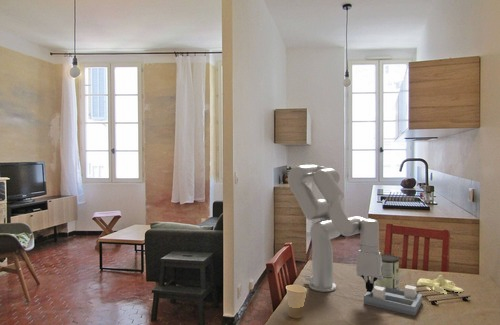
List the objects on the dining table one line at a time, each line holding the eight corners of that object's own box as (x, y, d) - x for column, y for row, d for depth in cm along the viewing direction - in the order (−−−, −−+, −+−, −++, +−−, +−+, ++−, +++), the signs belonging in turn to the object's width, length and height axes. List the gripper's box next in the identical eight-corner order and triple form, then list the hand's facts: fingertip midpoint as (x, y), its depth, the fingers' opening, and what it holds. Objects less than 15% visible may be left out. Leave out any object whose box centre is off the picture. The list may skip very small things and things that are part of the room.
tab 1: (372, 300, 151) (372, 288, 151) (375, 297, 154) (375, 285, 154) (382, 302, 149) (382, 290, 149) (385, 299, 152) (385, 287, 152)
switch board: (363, 303, 152) (363, 295, 152) (374, 292, 164) (374, 284, 164) (414, 316, 141) (414, 307, 141) (422, 302, 153) (422, 294, 153)
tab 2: (404, 299, 152) (404, 287, 152) (406, 296, 155) (406, 284, 155) (414, 301, 150) (414, 289, 150) (416, 298, 153) (416, 286, 153)
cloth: (410, 280, 181) (410, 268, 181) (447, 280, 181) (447, 268, 181) (432, 298, 159) (432, 284, 159) (474, 298, 158) (474, 284, 158)
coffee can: (375, 281, 178) (375, 253, 177) (398, 284, 174) (398, 255, 174) (375, 289, 168) (375, 259, 168) (399, 292, 165) (399, 261, 164)
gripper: (349, 247, 155) (349, 290, 155) (385, 253, 146) (385, 297, 146) (355, 244, 161) (355, 284, 161) (390, 249, 152) (390, 292, 153)
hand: (369, 291), depth 154 cm, fingers closed
